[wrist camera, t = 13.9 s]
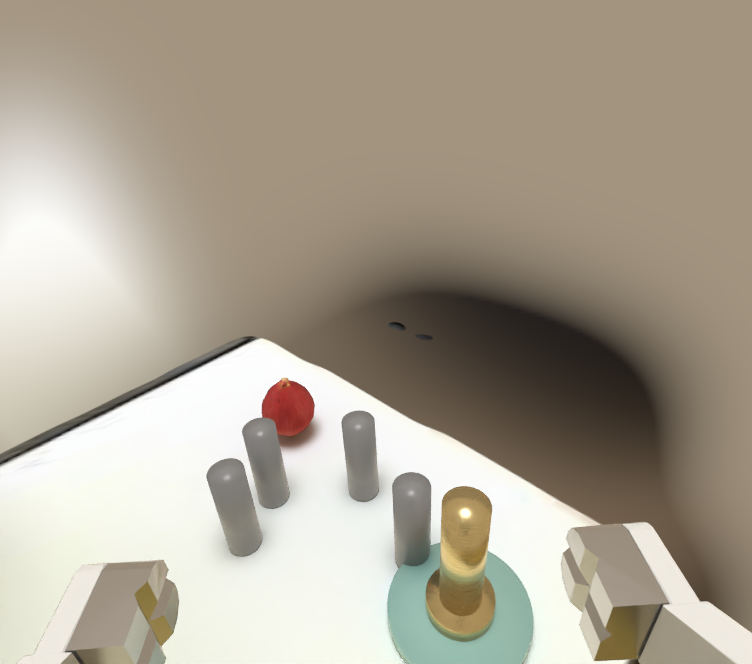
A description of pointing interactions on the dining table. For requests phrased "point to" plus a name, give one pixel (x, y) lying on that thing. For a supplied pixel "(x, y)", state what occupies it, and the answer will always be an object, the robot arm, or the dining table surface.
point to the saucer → (449, 657)
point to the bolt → (462, 568)
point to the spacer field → (274, 491)
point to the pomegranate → (288, 407)
